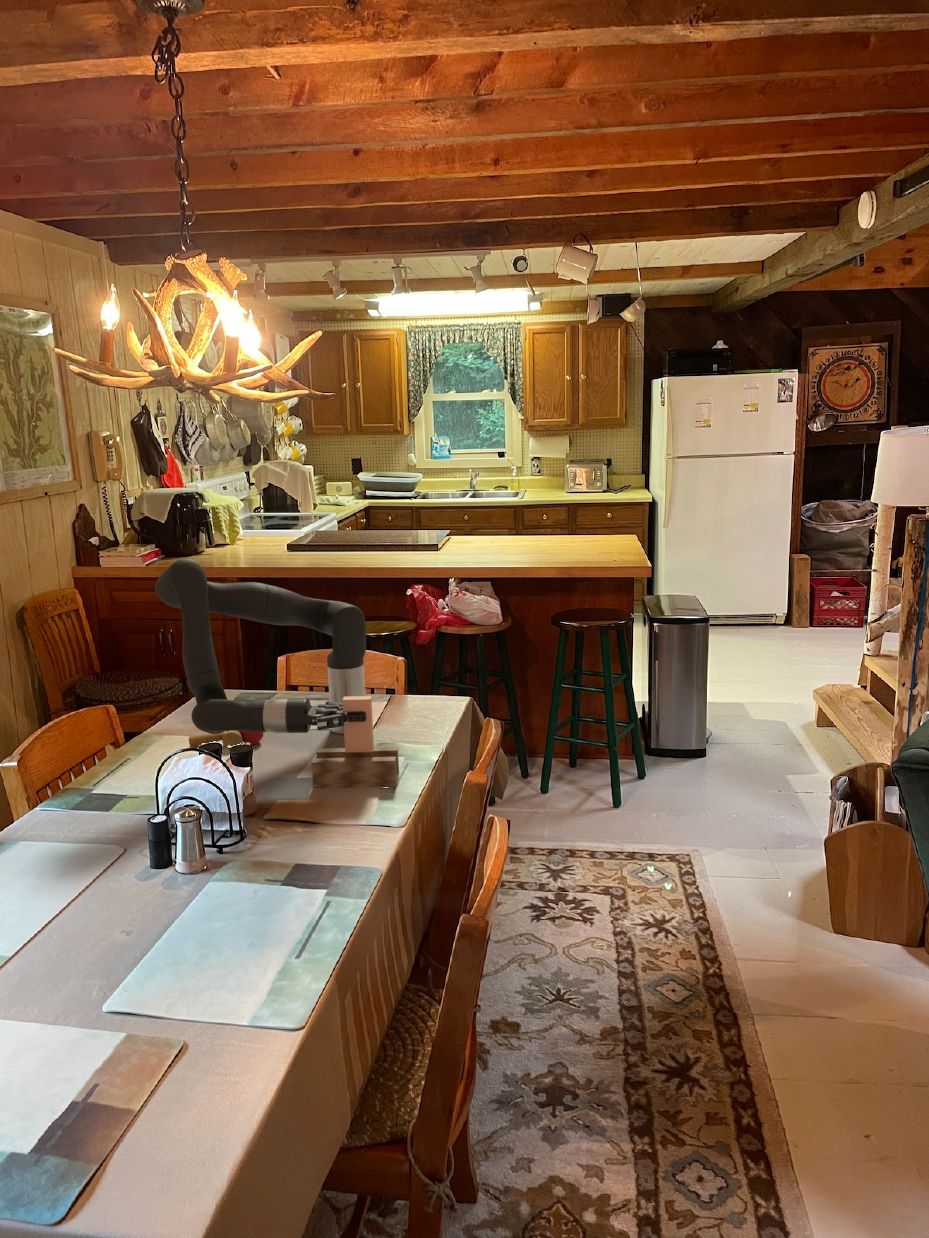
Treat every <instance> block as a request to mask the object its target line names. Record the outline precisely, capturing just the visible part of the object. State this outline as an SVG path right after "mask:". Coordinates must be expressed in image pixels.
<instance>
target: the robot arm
mask: <svg viewBox="0 0 929 1238" xmlns="http://www.w3.org/2000/svg"><path fill="white" fill-rule="evenodd" d="M154 592H155V594H156V596H157V598H159V600H160V601H161V602H163V603H164V604H165V605H166V606H169V607H172V608H174V609H180V610H181V611H180V612H181V616H182V618H181V619H182V645H181V646H182V647H181V649H182V650H181V651H182V652H181V653H182V662H183V663H182V664H183V667H184V673H185V677H186V683H187V685H188V688H189V690H190V692H191V693H192V694H193V695H194V699H195V702H196V705H195V706H194V707H193V709H192V710H191V720H192V723H193V725H194V726H195V728H197V729H198V730H199V731H202V732H204V733H207V734H220V733H225V732H227V731H232V730H239V731H243V732H263V733H272V734H304V733H309V732H310V730H311V726H317V727H316V728H317V730H318V731H323V730H329V729H330V730H331V731H332V732H333V733H334V734H335V733H336V734H339V735H344V724H346V723H348V721H349V722H365V721H366V712H364V711H355V712H348V711H343V698H344V697H349V696H367V690H366V684H365V683H366V682H365V667H364V665H365V662H364V657H365V655H366V651H367V628H366V627H367V626H366V619H365V616H364V615H365V614H364V612H363V611H362V610H361V608H360V607H358V606H356V605H353V604H350V603H348V602H343V601H339V600H328V599H327V600H326V599H319V598H312V597H307V596H304V595H302V594H299V593H296V592H294V591H291V590H288V589H285V588H283V587H279V586H275V585H270V584H267V583H261V582H255V581H254V582H253V581H250V582H249V581H246V582H226V583H217V582H211V581H208V579H207V573H206V572H205V570H204V568H203V566H202V565H201V564H200V563H198V562H197V561H196V560H194V559H190V558H181V559H177V560H176V561H174V562H173V563H172V564H171V565H169V566H168V567H167V569H165V570H164V571H163V572H162V573H161V574H160V575H159V576H158V578H157V579H156V582H155V584H154ZM210 613H217V614H221V615H226V616H230V617H235V618H241V619H244V620H249V621H253V622H257V623H263V624H266V625H272V626H273V625H274V626H300V627H304V628H309V629H312V630H315V631H317V632H321V633H324V634H326V635H328V636H331V637H332V652H329V653H328V654H327V658H326V662H327V663H326V664H327V665H326V666H327V679H328V680H327V682H328V695H329V697H328V698H329V700H327V701H325V703H319V704H317V705H311V701H310V699H309V698H307V697H300V698H299V697H297V698H296V697H294V698H289V697H288V698H273V699H255V700H254V699H253V700H249V699H248V700H234V699H228V696H227V694H226V692H225V690H224V687H223V684H222V681H221V675H220V670H219V666H218V661H217V656H216V653H215V648H214V642H213V637H212V628H211V618H210Z"/></svg>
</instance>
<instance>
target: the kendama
mask: <svg viewBox="0 0 929 1238" xmlns="http://www.w3.org/2000/svg"><path fill="white" fill-rule="evenodd" d="M263 737H264V732H243V731H239V730H232V731H225V732H223V733H220V734H210V733H207V734H199V735H190V736H189V737H188V744H189V747H190V748H191V747H194V748H197V747H200V746H199V745H201V744H202V743H209V742H213V741H216V742H215V743H217V742H221V741H222V745H223V746H224V745H225V746H228V745H230V746H233V745H237V744H240V743H244V742H249V743H251V744H253V745H257V744H259V742H261V741H262V740H263ZM201 746H202V745H201ZM225 746H224V747H225Z"/></svg>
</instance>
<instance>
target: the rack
mask: <svg viewBox="0 0 929 1238" xmlns="http://www.w3.org/2000/svg"><path fill="white" fill-rule="evenodd" d="M315 755H316V758H313V759H312V761H311V775H312V777H313V786H312V789H343V788H347V789H349V788H350V789H351V788H380V787H396V788H397V786H396V784H397V785H398V781H397V780H399V776H398V774H399V775H400V764H399V763H400V761H399V747H398V746H374V749H373V752H345V747H335V748H334V747H333V748H332V747H331V748H330V747H329V748H328V747H327V748H317V750H316V753H315Z"/></svg>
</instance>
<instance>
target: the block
mask: <svg viewBox="0 0 929 1238" xmlns="http://www.w3.org/2000/svg"><path fill="white" fill-rule="evenodd" d="M372 697H373V696H372V695H366V696H349V697H344V698H343V711H348V712H355V711H364V712H366V721H365V722H349V721H348V723H346V724H344V734H343V735H344V737H343V738H344V748H345V752H373V749H374V747H375V742H374V722H373V721H374V719H373V700H372Z"/></svg>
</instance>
